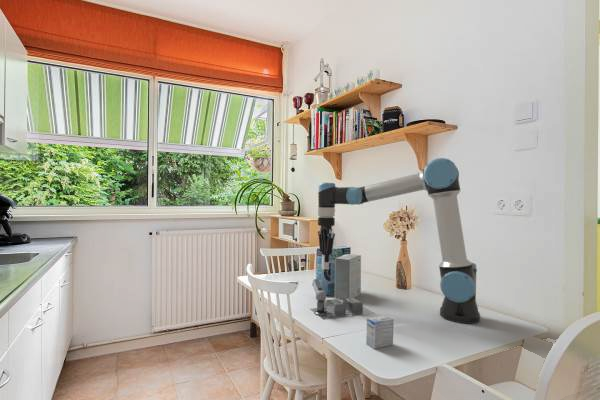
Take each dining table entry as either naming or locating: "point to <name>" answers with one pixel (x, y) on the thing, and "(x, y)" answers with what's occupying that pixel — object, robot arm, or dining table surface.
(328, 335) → the dining table surface
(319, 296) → the cable arm
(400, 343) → the dining table surface
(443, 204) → the robot arm
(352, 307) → the block
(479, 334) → the dining table surface
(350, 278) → the hard drive box
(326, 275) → the blue printed carton
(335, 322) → the dining table surface
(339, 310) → the power supply block
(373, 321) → the medicine box
